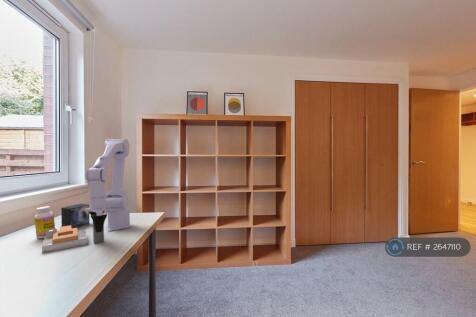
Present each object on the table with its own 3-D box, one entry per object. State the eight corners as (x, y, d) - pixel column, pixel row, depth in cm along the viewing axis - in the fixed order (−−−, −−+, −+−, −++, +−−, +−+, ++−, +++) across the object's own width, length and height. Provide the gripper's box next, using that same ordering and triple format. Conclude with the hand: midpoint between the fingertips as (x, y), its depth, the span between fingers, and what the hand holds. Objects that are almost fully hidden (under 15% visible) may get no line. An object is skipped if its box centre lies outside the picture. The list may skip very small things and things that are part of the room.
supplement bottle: (43, 239, 100) (40, 209, 99) (32, 238, 102) (29, 209, 101) (59, 233, 106) (56, 205, 106) (49, 232, 108) (45, 205, 108)
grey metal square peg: (103, 239, 99) (102, 221, 99) (104, 242, 97) (103, 222, 96) (93, 241, 97) (92, 222, 97) (94, 244, 95) (93, 224, 94)
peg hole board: (85, 234, 106) (84, 223, 106) (87, 244, 95) (86, 231, 95) (45, 241, 98) (44, 229, 98) (42, 253, 86) (41, 239, 86)
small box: (70, 230, 113) (69, 208, 113) (60, 228, 115) (60, 207, 115) (90, 223, 123) (89, 203, 123) (81, 222, 125) (80, 203, 125)
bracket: (76, 227, 108) (76, 224, 108) (77, 238, 94) (77, 235, 94) (54, 231, 104) (54, 227, 103) (52, 243, 89) (52, 239, 89)
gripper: (84, 195, 100) (85, 227, 100) (87, 200, 88) (87, 236, 89) (103, 193, 104) (104, 224, 104) (108, 198, 92) (109, 232, 93)
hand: (98, 229), depth 97 cm, fingers open, 7 cm apart
